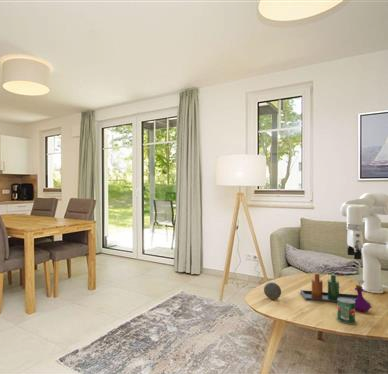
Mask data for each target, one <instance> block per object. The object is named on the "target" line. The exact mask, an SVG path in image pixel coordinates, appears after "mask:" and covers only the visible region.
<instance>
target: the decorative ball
mask: <svg viewBox="0 0 388 374" xmlns="http://www.w3.org/2000/svg"><path fill="white" fill-rule="evenodd" d="M263 292H264V295H265V296H266V297H267V298H268V299H270V300H277V299H279V298H280V297H281V295H282V289H281V287H280V286H279V285H278V283H275V282H267V283H266V284H264V287H263Z"/></svg>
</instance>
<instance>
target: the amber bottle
mask: <svg viewBox="0 0 388 374" xmlns="http://www.w3.org/2000/svg"><path fill="white" fill-rule="evenodd" d="M323 283H324V282H323V279H320V273H319V272H315V273H314V278H311V291H312V295H311V296H312V297H313V298H319V299H322V298H323V292H324V291H323V290H324V288H323V287H324V286H323V285H324V284H323Z"/></svg>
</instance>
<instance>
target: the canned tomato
mask: <svg viewBox="0 0 388 374" xmlns="http://www.w3.org/2000/svg"><path fill="white" fill-rule="evenodd" d="M336 308H337V310H336V319H337V321H338V322H340V323H342V324H347V325H354V324H355V323H356V310H355V301H354V300H352V299H349V298H344V297H340V298H337V303H336Z"/></svg>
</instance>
